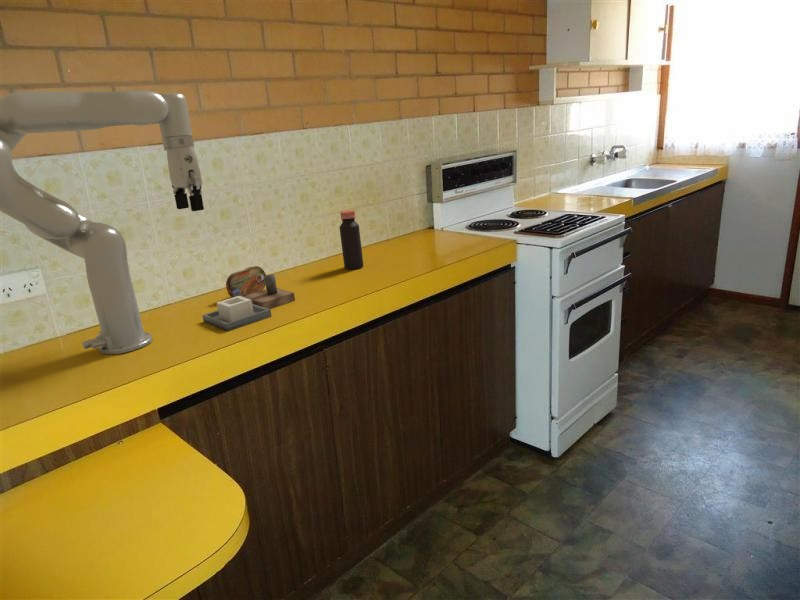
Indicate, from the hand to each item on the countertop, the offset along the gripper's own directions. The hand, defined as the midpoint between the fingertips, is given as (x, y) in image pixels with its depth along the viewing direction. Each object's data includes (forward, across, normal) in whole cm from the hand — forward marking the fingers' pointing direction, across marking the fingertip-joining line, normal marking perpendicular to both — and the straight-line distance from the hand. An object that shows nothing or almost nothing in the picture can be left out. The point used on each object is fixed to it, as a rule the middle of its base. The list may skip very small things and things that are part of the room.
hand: (190, 209), depth 154 cm
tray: (+31, -8, -4) cm, 32 cm away
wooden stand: (+31, -3, -18) cm, 35 cm away
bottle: (+30, +7, -57) cm, 65 cm away
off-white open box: (+30, -8, -4) cm, 31 cm away
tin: (+31, +11, -18) cm, 37 cm away
